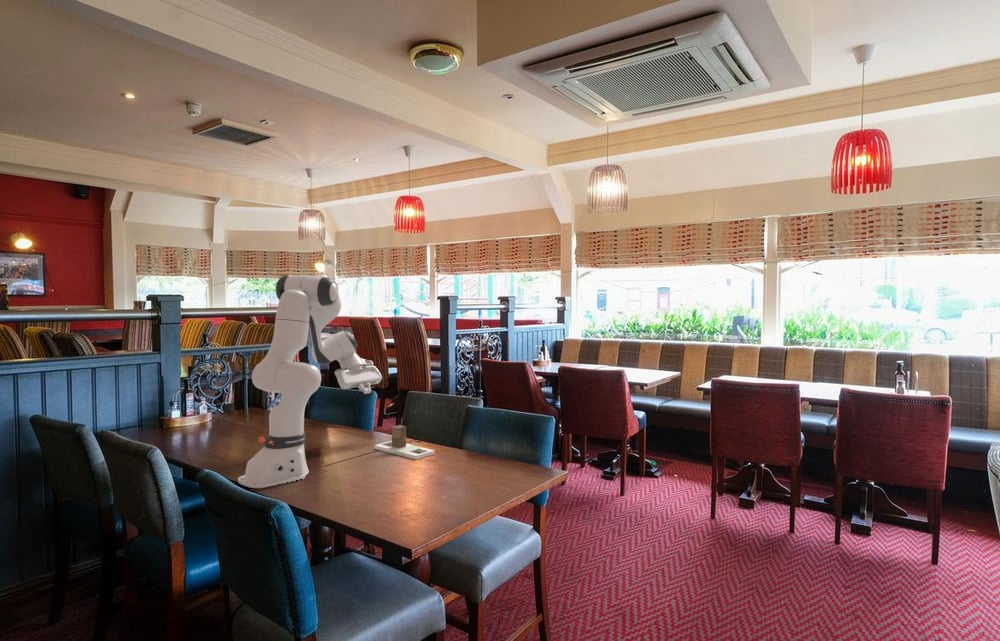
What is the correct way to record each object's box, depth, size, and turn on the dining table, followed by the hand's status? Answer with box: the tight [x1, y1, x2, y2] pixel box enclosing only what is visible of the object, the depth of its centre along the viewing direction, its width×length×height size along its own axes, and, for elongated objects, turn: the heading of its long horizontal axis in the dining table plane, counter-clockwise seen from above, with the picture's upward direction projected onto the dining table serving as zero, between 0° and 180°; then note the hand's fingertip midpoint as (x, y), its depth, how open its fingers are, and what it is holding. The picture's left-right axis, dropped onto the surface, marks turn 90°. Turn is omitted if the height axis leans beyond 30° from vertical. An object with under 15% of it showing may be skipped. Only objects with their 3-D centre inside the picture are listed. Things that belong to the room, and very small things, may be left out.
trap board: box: [373, 440, 436, 461], centre depth 222 cm, size 10×24×2 cm, turn 52°
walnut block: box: [391, 424, 407, 448], centre depth 224 cm, size 4×4×8 cm
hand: (368, 392), depth 235 cm, fingers closed
